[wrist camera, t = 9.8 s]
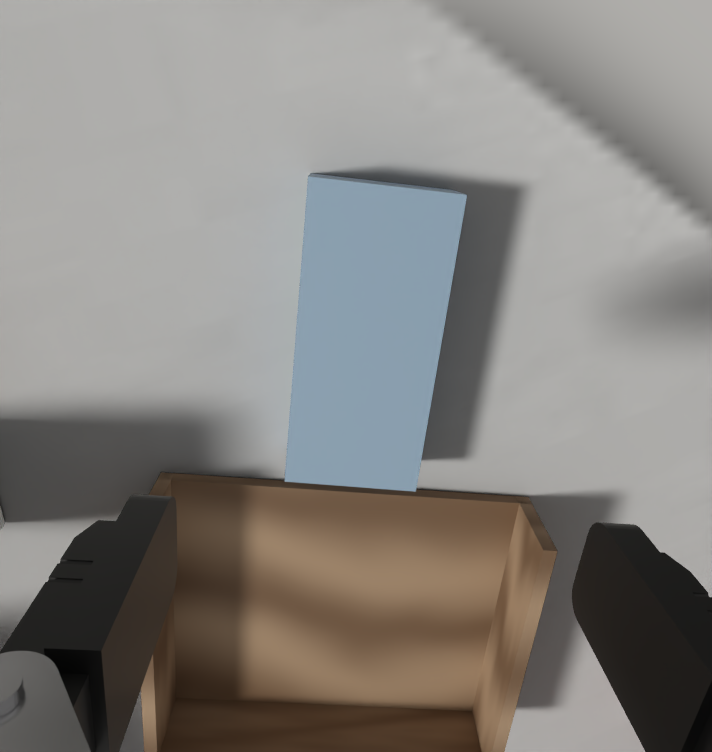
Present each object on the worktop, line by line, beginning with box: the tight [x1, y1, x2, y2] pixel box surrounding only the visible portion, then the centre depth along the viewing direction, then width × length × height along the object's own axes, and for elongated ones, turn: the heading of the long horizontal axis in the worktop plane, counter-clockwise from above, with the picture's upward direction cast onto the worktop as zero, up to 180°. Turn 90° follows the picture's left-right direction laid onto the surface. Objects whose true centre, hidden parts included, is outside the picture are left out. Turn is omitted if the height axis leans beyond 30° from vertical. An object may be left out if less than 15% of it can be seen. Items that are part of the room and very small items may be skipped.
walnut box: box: [141, 472, 557, 752], centre depth 28 cm, size 14×17×4 cm
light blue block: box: [285, 173, 467, 492], centre depth 23 cm, size 12×6×3 cm, turn 174°
